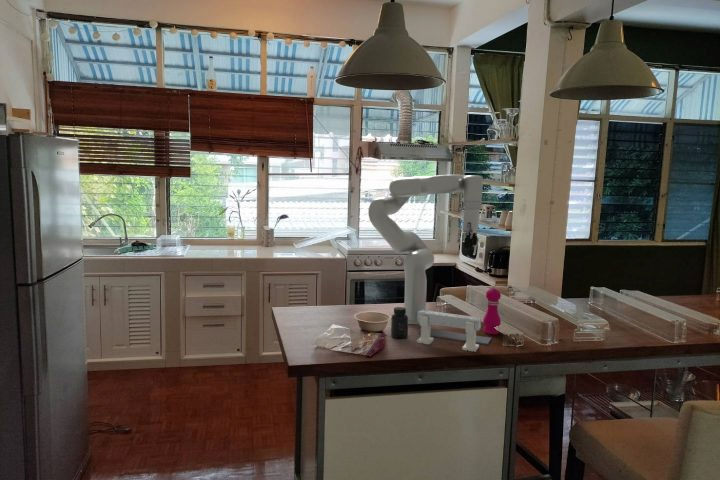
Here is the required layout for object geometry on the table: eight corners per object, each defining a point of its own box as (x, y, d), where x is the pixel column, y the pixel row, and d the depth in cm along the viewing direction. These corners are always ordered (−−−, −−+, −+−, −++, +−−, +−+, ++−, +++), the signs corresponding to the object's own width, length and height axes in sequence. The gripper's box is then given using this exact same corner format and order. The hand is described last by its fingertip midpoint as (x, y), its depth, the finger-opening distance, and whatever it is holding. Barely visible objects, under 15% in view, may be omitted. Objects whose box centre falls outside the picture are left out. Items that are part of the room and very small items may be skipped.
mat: (418, 334, 223) (418, 333, 223) (424, 329, 231) (424, 328, 231) (487, 345, 212) (487, 343, 212) (491, 339, 219) (491, 337, 219)
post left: (416, 342, 213) (417, 315, 212) (422, 338, 219) (422, 311, 218) (428, 344, 211) (429, 317, 209) (433, 339, 217) (435, 313, 216)
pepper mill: (500, 335, 225) (503, 287, 222) (482, 333, 226) (485, 286, 224) (499, 330, 232) (502, 284, 229) (482, 328, 233) (484, 283, 231)
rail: (417, 322, 213) (417, 312, 213) (420, 319, 217) (420, 309, 216) (478, 330, 204) (478, 320, 203) (480, 327, 207) (481, 317, 207)
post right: (461, 350, 206) (463, 321, 204) (466, 344, 212) (467, 317, 210) (475, 352, 204) (476, 323, 202) (479, 346, 210) (480, 319, 208)
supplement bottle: (409, 335, 222) (410, 307, 220) (405, 340, 215) (406, 311, 214) (393, 333, 224) (394, 305, 222) (388, 338, 217) (389, 309, 216)
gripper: (467, 203, 234) (465, 243, 236) (458, 206, 218) (457, 248, 220) (485, 204, 231) (483, 244, 233) (477, 207, 215) (475, 249, 217)
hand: (470, 246), depth 227 cm, fingers open, 9 cm apart
